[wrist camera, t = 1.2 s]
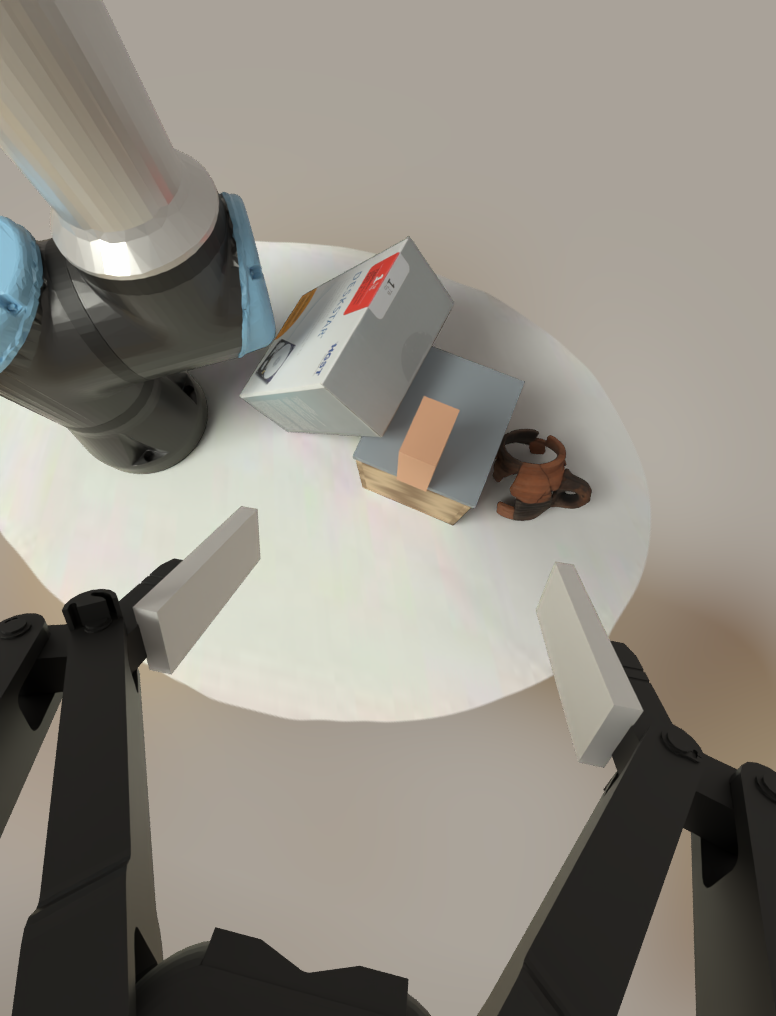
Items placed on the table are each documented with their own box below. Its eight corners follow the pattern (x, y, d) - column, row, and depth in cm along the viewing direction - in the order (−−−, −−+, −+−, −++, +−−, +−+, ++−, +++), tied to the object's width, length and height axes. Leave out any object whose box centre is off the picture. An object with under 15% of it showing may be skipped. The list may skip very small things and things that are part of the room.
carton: (362, 487, 47) (356, 460, 37) (406, 392, 50) (410, 344, 40) (452, 525, 46) (470, 508, 36) (492, 426, 49) (518, 385, 39)
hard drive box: (301, 292, 47) (411, 230, 32) (345, 338, 52) (459, 303, 36) (235, 397, 44) (322, 383, 29) (288, 435, 49) (386, 440, 34)
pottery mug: (470, 511, 47) (480, 460, 41) (492, 466, 53) (504, 415, 47) (572, 545, 43) (600, 494, 37) (584, 492, 49) (610, 440, 43)
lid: (351, 463, 37) (341, 427, 29) (408, 342, 40) (413, 279, 32) (471, 513, 36) (496, 491, 28) (522, 385, 39) (557, 332, 31)
